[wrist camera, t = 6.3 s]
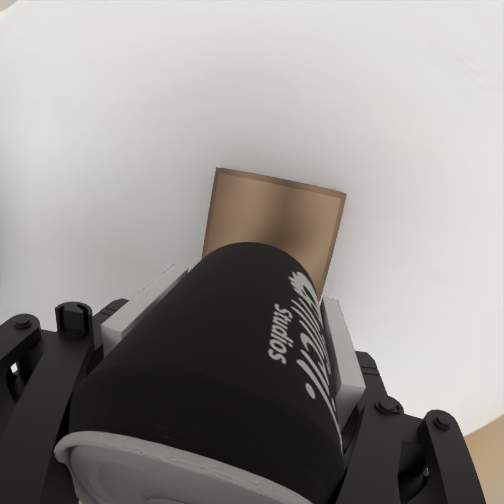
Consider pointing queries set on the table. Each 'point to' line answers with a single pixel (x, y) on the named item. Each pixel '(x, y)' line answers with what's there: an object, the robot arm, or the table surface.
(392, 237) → the table surface
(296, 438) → the beverage can
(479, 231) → the table surface
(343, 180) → the table surface
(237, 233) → the stand
